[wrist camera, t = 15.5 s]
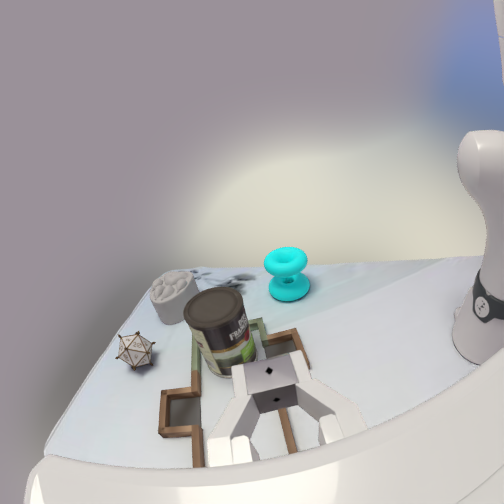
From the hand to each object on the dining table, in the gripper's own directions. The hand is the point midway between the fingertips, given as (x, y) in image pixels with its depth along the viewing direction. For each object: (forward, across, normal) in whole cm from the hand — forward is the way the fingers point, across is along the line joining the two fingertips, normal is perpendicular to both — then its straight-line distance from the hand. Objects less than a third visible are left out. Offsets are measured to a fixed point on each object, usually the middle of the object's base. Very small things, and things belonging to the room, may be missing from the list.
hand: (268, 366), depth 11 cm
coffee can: (+28, +7, +32) cm, 43 cm away
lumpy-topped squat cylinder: (+48, +20, +32) cm, 61 cm away
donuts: (+45, -9, +32) cm, 56 cm away
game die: (+31, +27, +32) cm, 52 cm away
